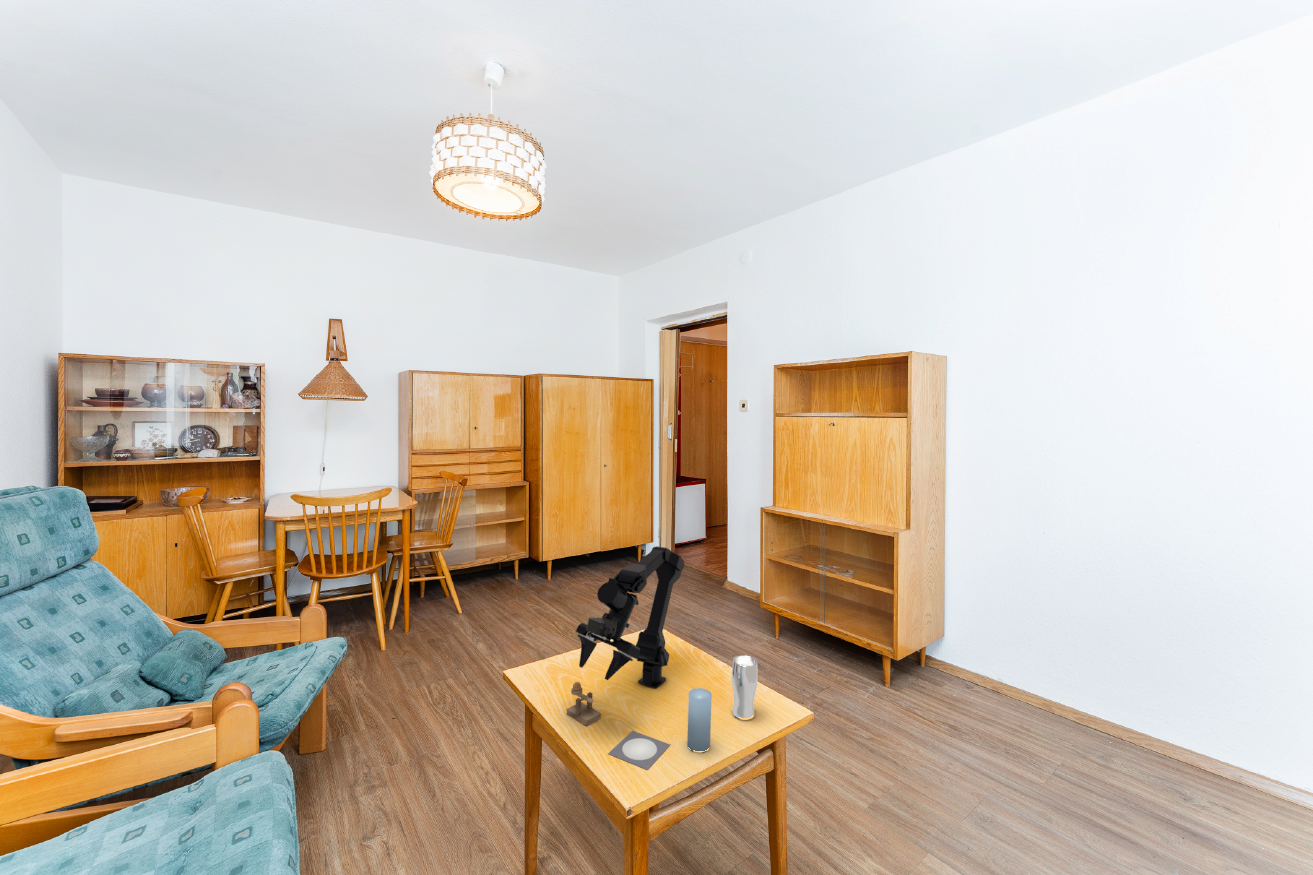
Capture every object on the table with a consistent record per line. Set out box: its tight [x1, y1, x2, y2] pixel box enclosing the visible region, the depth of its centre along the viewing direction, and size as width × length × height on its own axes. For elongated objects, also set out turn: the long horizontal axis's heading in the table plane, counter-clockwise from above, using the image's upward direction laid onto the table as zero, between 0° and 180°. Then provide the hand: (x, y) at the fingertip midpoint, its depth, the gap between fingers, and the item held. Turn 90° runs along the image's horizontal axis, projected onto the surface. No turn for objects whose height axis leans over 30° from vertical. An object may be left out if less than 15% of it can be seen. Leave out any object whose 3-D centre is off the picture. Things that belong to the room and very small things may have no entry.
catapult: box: [566, 681, 602, 727], centre depth 143 cm, size 8×5×8 cm, turn 49°
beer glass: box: [731, 655, 759, 718], centre depth 145 cm, size 7×7×15 cm
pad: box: [607, 730, 671, 771], centre depth 129 cm, size 11×11×1 cm
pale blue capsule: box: [686, 687, 713, 751], centre depth 131 cm, size 6×6×13 cm
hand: (593, 673), depth 137 cm, fingers open, 9 cm apart
